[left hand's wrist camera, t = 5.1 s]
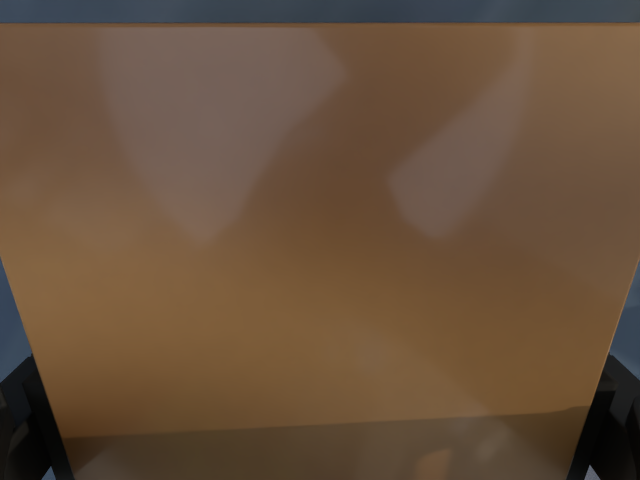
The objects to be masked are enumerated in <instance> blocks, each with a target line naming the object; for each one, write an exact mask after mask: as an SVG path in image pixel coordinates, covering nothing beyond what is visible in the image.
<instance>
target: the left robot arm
mask: <svg viewBox="0 0 640 480" xmlns="http://www.w3.org/2000/svg"><path fill="white" fill-rule="evenodd" d="M589 465H591V467H592V468H593V469H594V471H595V472H596V474H597V475H598V477H599V478H600V479H601V480H640V381H639V380H638V379H637V378H636V377H635V376H634V375H633V374H632V373H631V372H630V371H629V370H628V369H627V368H626V367H624V366H623V365H622V364H621V363H620V362H619V361H618V360H617V359H616V358H615V357H614V356H613V355H610V352H608V355H607V358H606V361H605V364H604V367H603V370H602V373H601V376H600V379H599V382H598V385H597V388H596V391H595V394H594V397H593V400H592V403H591V406H590V409H589V412H588V415H587V418H586V421H585V424H584V427H583V430H582V433H581V436H580V439H579V442H578V445H577V448H576V451H575V454H574V457H573V460H572V463H571V466H570V469H569V472H568V475H567V478H566V480H584V479H585V476H586V473H587V471H588V468H589ZM50 466H51V467H52V470H53V472H54V475H55V478H56V480H75V479H74V476H73V473H72V470H71V467H70V464H69V461H68V458H67V455H66V452H65V449H64V446H63V443H62V440H61V437H60V434H59V431H58V428H57V425H56V422H55V419H54V416H53V413H52V410H51V407H50V404H49V401H48V398H47V395H46V392H45V389H44V386H43V383H42V380H41V377H40V374H39V371H38V368H37V365H36V362H35V359H34V356H33V353H32V354H31V357H28V358H26V359H25V360H24V361H23V362H22V363H21V364H20V365H19V366H18V367H17V368H16V369H15V370H14V371H13V372H12V373H11V374H9V375H8V376H7V377H6V378H5V379H4V380H3V381H2V382H1V383H0V480H41V479H42V478H43V476H44V475H45V474H46V472H47V471H48V469H49V468H50Z"/></svg>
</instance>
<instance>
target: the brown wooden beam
mask: <svg viewBox="0 0 640 480" xmlns="http://www.w3.org/2000/svg"><path fill="white" fill-rule="evenodd" d="M0 258H1V261H2V264H3V267H4V270H5V273H6V276H7V279H8V281H9V284H10V287H11V290H12V293H13V296H14V299H15V302H16V305H17V308H18V311H19V314H20V317H21V320H22V323H23V326H24V329H25V332H26V335H27V338H28V341H29V344H30V347H31V350H32V353H33V356H34V359H35V362H36V365H37V368H38V371H39V374H40V377H41V380H42V383H43V386H44V389H45V392H46V395H47V398H48V401H49V404H50V407H51V410H52V413H53V416H54V419H55V422H56V425H57V428H58V431H59V434H60V437H61V440H62V443H63V446H64V449H65V452H66V455H67V458H68V461H69V464H70V467H71V470H72V473H73V476H74V479H75V480H566V478H567V475H568V472H569V469H570V466H571V463H572V460H573V457H574V454H575V451H576V448H577V445H578V442H579V439H580V436H581V433H582V430H583V427H584V424H585V421H586V418H587V415H588V412H589V409H590V406H591V403H592V400H593V397H594V394H595V391H596V388H597V385H598V382H599V379H600V376H601V373H602V370H603V367H604V364H605V361H606V358H607V355H608V352H609V349H610V346H611V343H612V340H613V337H614V334H615V331H616V328H617V325H618V322H619V319H620V316H621V313H622V310H623V307H624V305H625V302H626V299H627V296H628V293H629V290H630V287H631V284H632V281H633V278H634V275H635V272H636V269H637V266H638V263H639V260H640V22H508V23H0Z"/></svg>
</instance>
